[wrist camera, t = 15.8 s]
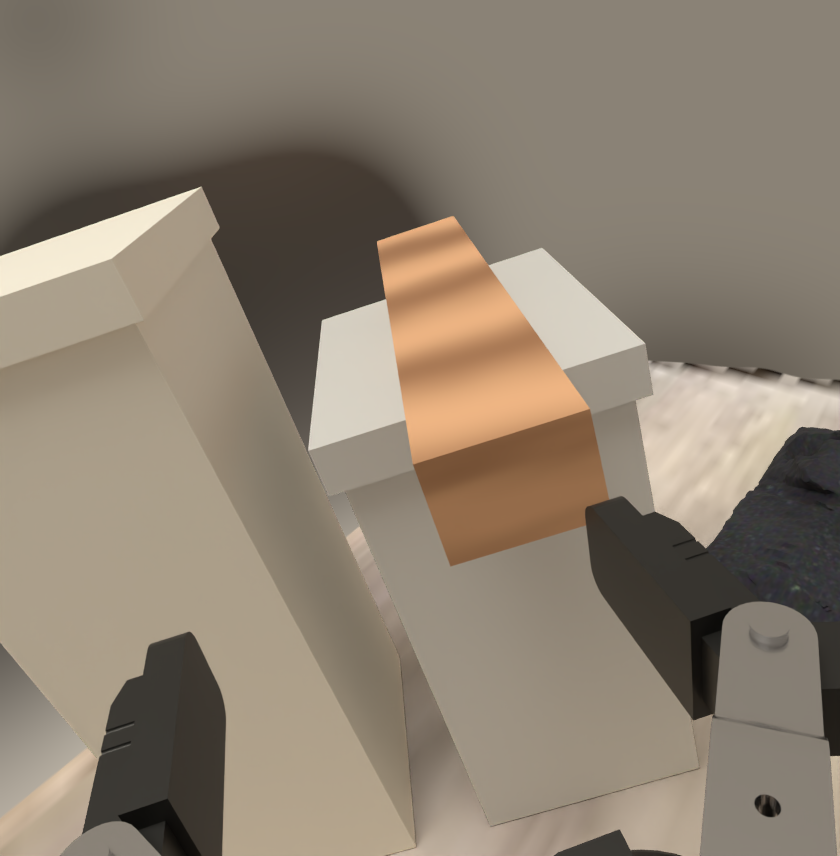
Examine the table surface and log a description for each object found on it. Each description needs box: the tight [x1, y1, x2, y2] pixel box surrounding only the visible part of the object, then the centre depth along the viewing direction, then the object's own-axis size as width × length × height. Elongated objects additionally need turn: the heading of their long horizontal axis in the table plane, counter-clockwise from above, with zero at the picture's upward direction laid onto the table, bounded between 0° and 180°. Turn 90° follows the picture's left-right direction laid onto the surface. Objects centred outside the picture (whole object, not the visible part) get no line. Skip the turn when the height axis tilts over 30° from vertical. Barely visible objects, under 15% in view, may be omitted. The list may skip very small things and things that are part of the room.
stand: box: [0, 187, 416, 856], centre depth 34 cm, size 14×12×32 cm
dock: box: [308, 248, 699, 826], centre depth 35 cm, size 14×12×24 cm
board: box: [377, 216, 609, 567], centre depth 25 cm, size 22×4×3 cm, turn 5°
